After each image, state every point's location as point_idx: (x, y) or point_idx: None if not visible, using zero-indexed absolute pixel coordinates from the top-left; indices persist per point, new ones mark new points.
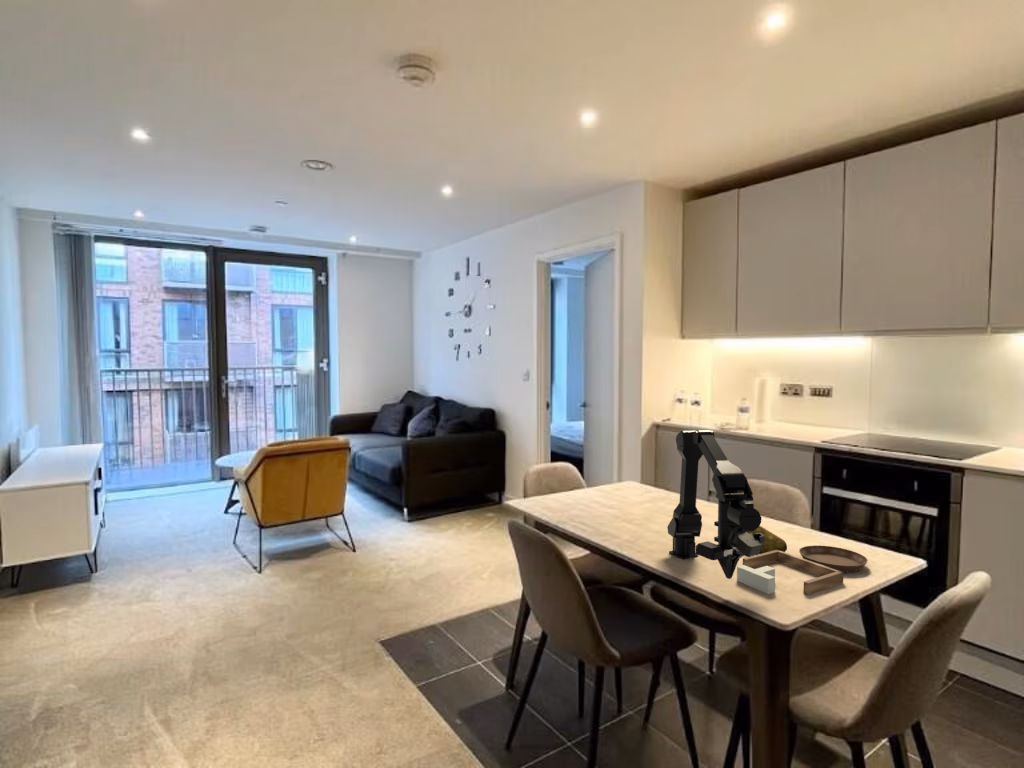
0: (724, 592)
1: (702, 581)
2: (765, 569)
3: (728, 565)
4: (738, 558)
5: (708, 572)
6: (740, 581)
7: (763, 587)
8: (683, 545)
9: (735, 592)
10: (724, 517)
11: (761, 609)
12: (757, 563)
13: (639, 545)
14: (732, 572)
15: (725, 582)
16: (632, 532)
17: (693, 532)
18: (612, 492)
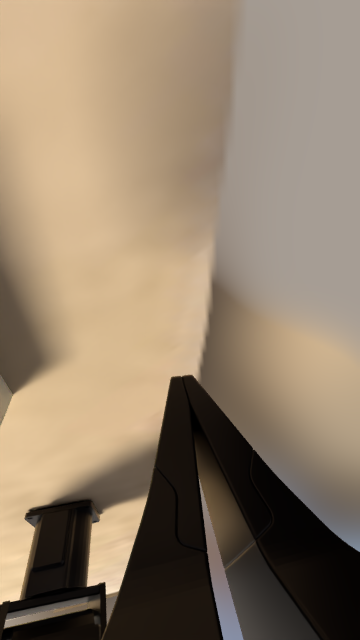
0: (169, 333)
1: (160, 413)
2: None
3: (279, 480)
4: (160, 606)
5: (81, 450)
6: (3, 385)
7: None
8: (76, 551)
9: (120, 316)
10: None
11: (180, 13)
12: None
13: (130, 530)
14: (180, 412)
15: (82, 393)
16: (95, 555)
17: (29, 625)
18: None
